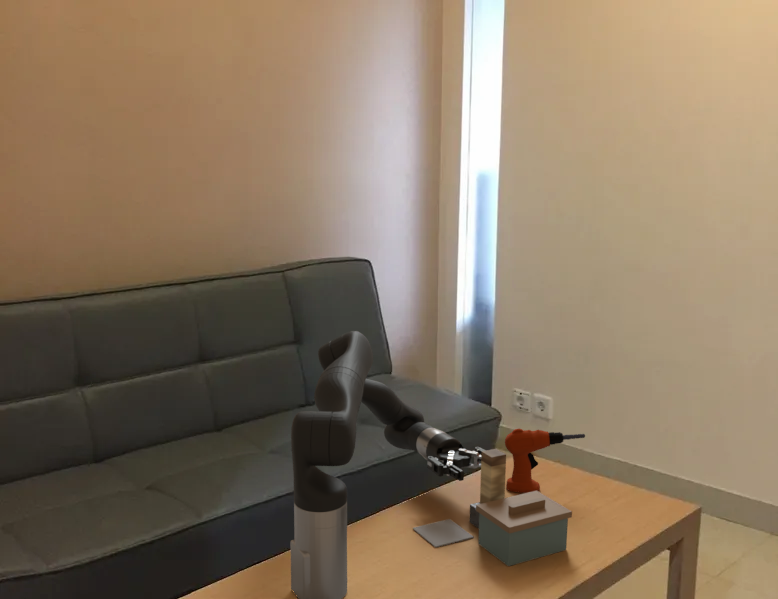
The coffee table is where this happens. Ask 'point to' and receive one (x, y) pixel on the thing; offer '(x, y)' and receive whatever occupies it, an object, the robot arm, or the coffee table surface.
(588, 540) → the coffee table surface
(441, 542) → the rubber mat
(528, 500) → the toolbox
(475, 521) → the gray open box
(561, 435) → the toy drill
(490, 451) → the mottled beige block
